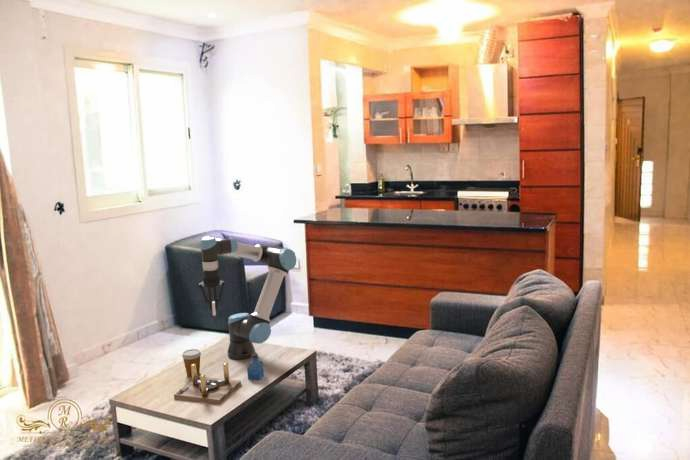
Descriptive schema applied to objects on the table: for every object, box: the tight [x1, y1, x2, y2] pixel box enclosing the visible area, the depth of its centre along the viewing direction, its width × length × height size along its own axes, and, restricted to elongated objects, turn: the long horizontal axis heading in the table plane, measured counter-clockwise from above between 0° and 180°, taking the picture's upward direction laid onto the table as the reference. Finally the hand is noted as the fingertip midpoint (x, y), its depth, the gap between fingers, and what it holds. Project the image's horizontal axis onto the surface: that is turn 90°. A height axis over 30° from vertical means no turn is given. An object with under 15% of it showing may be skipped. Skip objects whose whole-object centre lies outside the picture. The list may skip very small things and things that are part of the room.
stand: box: [173, 375, 242, 405], centre depth 276 cm, size 21×24×4 cm
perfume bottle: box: [246, 353, 265, 381], centre depth 289 cm, size 6×6×12 cm
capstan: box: [191, 362, 230, 396], centre depth 276 cm, size 16×18×10 cm
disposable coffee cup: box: [181, 348, 202, 378], centre depth 296 cm, size 10×10×12 cm
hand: (214, 314), depth 289 cm, fingers closed
